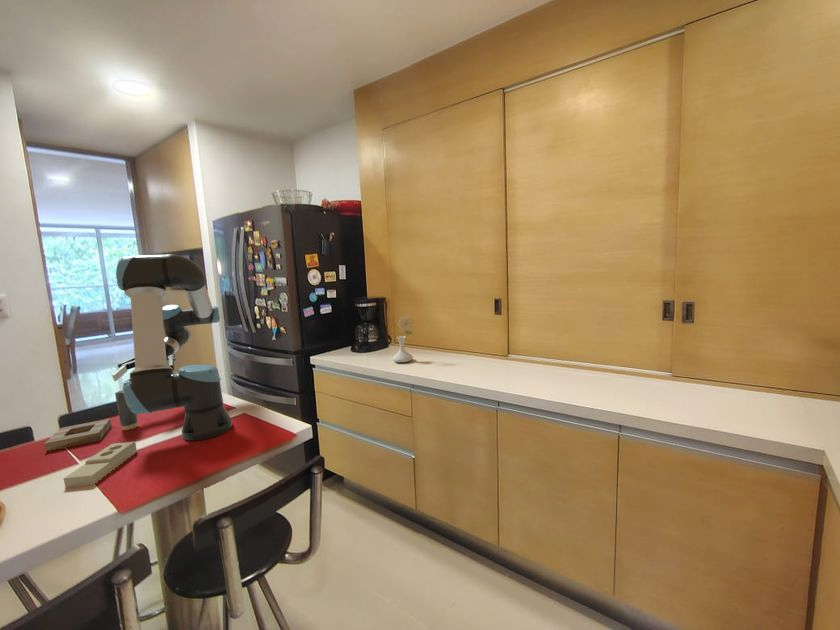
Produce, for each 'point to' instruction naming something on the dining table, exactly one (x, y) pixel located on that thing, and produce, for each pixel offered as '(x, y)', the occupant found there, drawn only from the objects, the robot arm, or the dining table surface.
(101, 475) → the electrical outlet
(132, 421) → the plug
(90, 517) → the dining table surface
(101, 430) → the socket plate
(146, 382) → the robot arm
